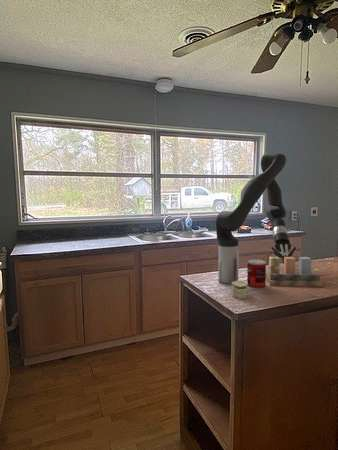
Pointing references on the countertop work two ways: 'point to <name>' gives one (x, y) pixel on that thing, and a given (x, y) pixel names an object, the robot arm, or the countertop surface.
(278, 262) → the maple key
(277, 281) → the wooden board with bar
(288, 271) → the salmon orange block
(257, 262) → the canned food
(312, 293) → the countertop surface
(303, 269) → the slate key
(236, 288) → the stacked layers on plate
